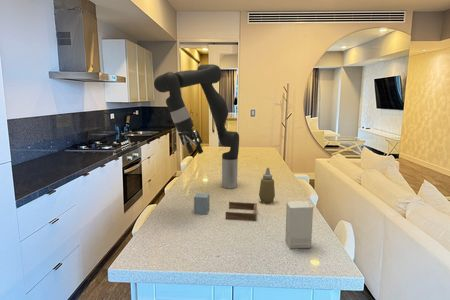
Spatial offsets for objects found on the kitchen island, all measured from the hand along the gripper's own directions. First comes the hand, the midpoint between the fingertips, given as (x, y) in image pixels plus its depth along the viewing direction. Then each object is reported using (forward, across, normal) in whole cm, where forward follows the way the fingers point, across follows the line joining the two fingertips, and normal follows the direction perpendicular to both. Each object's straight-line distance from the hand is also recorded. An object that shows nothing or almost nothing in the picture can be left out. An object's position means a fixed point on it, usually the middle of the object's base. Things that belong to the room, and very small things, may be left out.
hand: (196, 153), depth 133 cm
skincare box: (+38, -42, -2) cm, 57 cm away
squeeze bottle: (+40, -3, -25) cm, 47 cm away
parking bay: (+33, -8, -5) cm, 35 cm away
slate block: (+27, +4, +7) cm, 28 cm away
